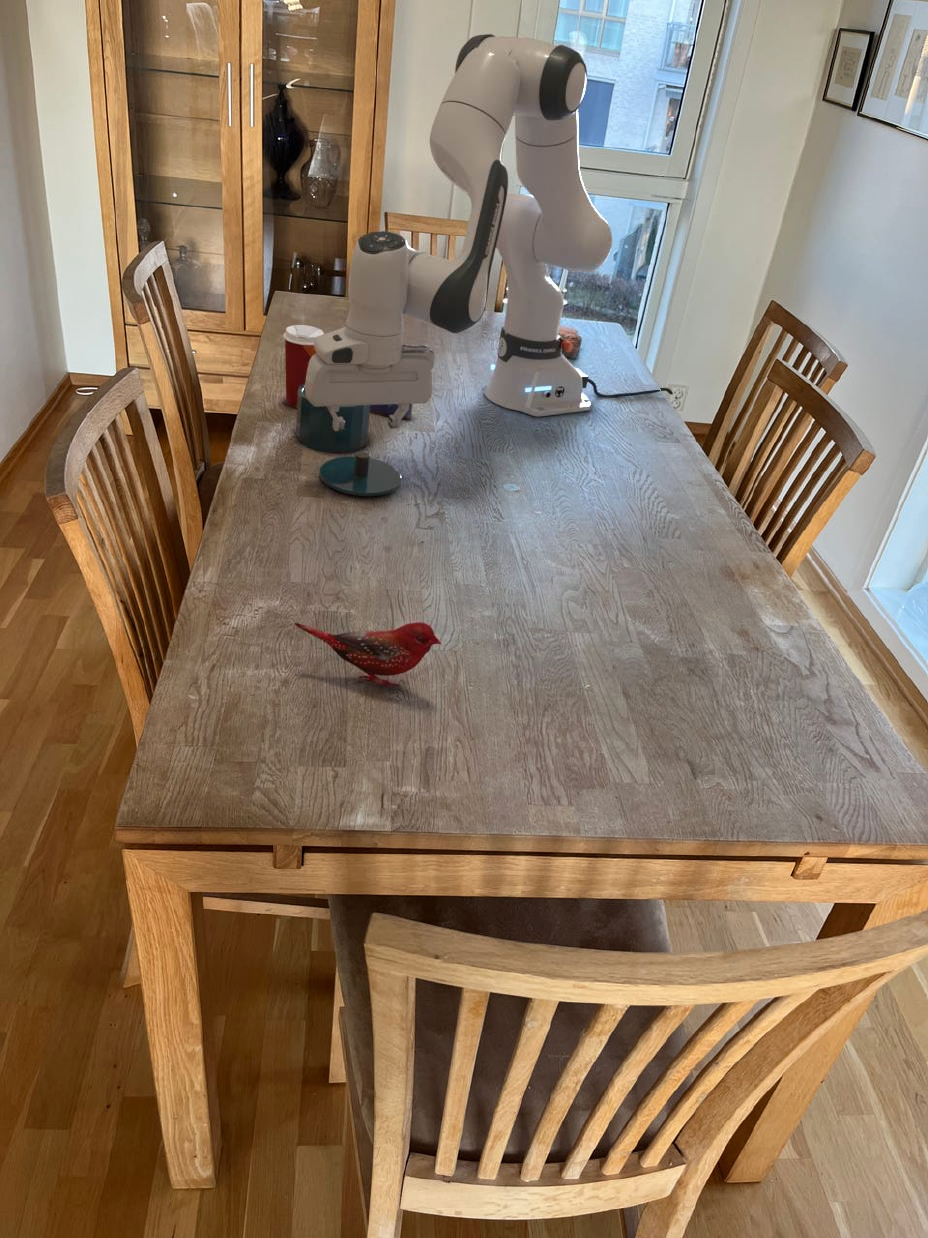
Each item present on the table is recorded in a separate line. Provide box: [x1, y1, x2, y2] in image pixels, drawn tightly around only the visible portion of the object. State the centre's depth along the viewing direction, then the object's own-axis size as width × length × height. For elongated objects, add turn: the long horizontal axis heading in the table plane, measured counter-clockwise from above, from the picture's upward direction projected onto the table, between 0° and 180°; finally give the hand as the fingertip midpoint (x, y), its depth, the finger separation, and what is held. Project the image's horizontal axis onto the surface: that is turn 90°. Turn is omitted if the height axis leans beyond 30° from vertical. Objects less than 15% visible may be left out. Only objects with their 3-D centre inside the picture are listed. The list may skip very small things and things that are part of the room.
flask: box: [370, 404, 413, 421], centre depth 186 cm, size 9×3×11 cm, turn 74°
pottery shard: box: [558, 325, 583, 359], centre depth 237 cm, size 16×16×4 cm
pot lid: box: [319, 451, 403, 497], centre depth 162 cm, size 14×14×5 cm
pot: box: [295, 383, 371, 454], centre depth 173 cm, size 13×13×8 cm
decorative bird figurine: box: [293, 621, 442, 687], centre depth 116 cm, size 3×18×10 cm, turn 80°
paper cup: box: [283, 324, 325, 409], centre depth 183 cm, size 8×8×14 cm
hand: (366, 428), depth 158 cm, fingers open, 8 cm apart
